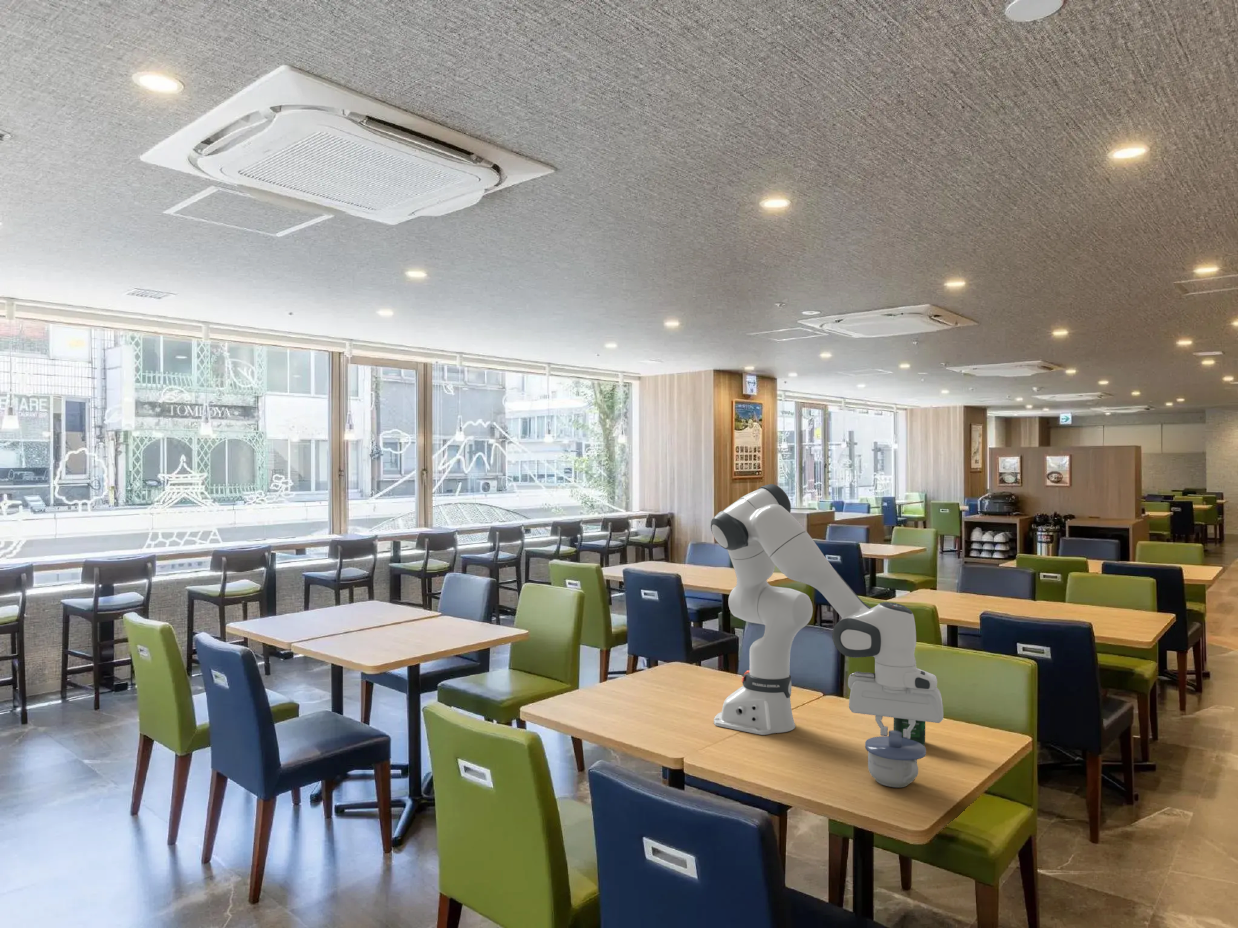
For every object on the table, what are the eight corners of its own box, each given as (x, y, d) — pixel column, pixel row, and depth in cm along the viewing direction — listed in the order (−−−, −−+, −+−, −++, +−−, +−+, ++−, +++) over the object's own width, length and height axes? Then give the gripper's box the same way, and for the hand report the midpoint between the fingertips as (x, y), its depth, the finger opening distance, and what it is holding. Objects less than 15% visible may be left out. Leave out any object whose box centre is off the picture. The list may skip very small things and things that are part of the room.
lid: (861, 755, 177) (861, 737, 177) (868, 737, 188) (868, 720, 189) (924, 763, 171) (924, 745, 171) (927, 744, 183) (927, 727, 183)
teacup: (860, 774, 186) (860, 740, 186) (905, 773, 187) (905, 739, 187) (885, 798, 172) (885, 761, 173) (933, 796, 173) (933, 760, 173)
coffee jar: (926, 751, 202) (926, 678, 202) (893, 748, 204) (893, 675, 205) (924, 739, 211) (924, 669, 211) (893, 736, 214) (893, 667, 214)
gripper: (846, 673, 182) (846, 734, 181) (942, 683, 173) (942, 747, 173) (849, 667, 187) (849, 726, 187) (943, 676, 179) (943, 738, 179)
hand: (895, 736), depth 180 cm, fingers open, 3 cm apart
